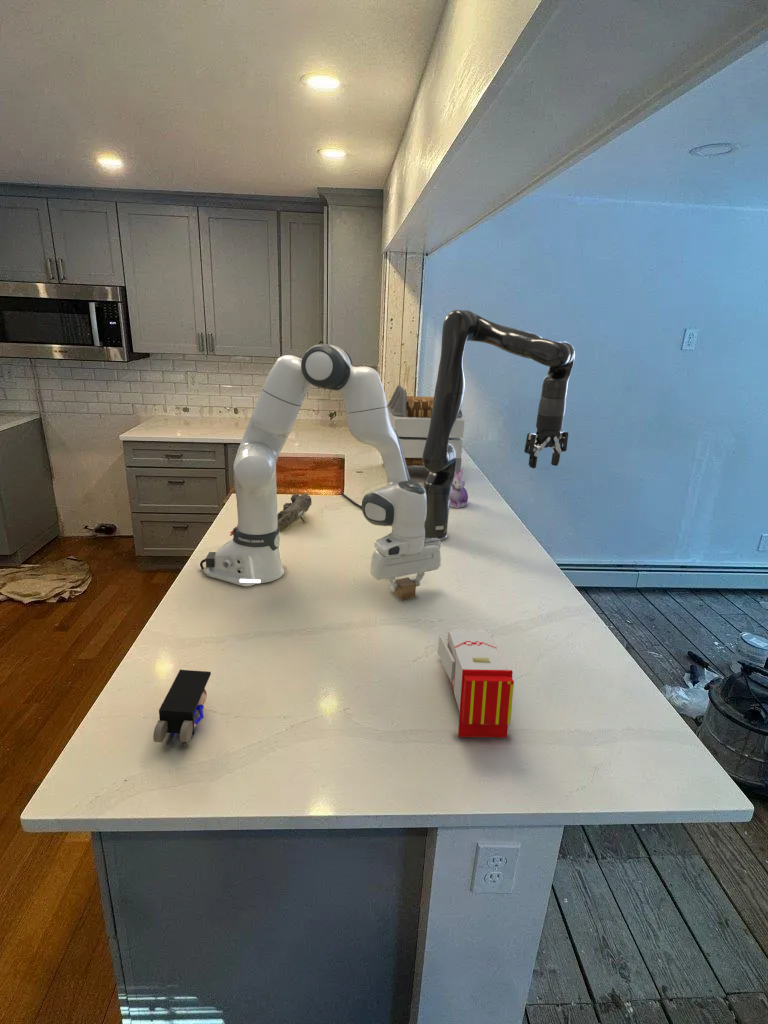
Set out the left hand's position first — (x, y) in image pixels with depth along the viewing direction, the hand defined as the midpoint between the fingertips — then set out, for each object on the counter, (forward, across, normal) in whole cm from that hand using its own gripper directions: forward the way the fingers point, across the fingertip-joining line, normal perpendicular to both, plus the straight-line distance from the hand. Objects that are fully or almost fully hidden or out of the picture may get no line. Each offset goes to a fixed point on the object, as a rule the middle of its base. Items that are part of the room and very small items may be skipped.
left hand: (405, 587), depth 157 cm
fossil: (+2, +11, -65) cm, 66 cm away
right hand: (-30, -48, -5) cm, 57 cm away
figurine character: (+2, +62, +30) cm, 69 cm away
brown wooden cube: (+2, 0, 0) cm, 2 cm away
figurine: (+2, -57, -60) cm, 83 cm away
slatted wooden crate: (+2, -66, -107) cm, 125 cm away
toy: (+2, +8, +42) cm, 43 cm away
